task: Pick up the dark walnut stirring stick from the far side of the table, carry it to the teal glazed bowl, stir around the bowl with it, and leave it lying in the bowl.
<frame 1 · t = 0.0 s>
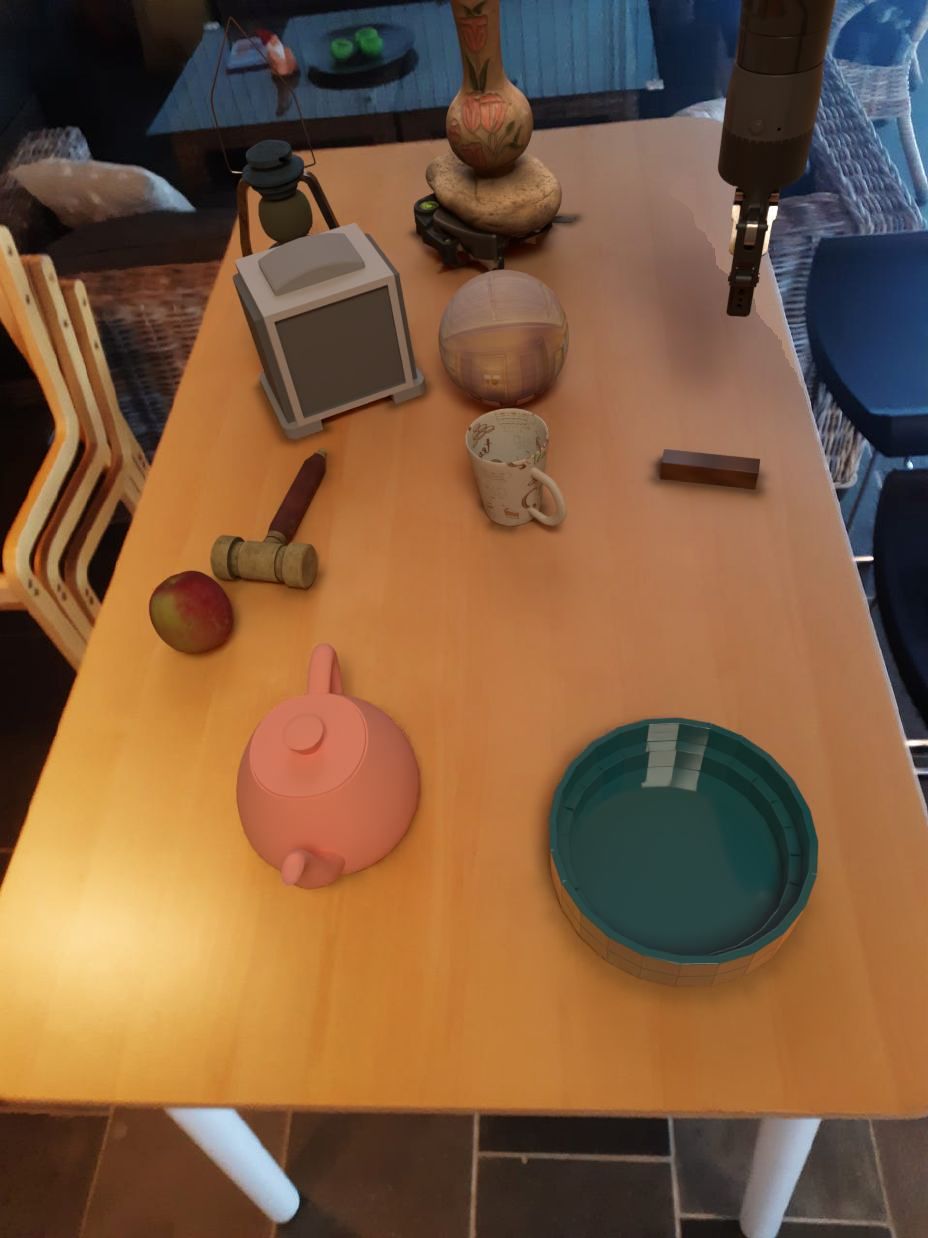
hand: (741, 289, 87), 16 cm above the table, tool pointing down, fingers open, 8 cm apart
apple: (205, 638, 89), on the table
alarm clock: (343, 388, 111), on the table
vase: (490, 241, 129), on the table
teapot: (337, 813, 75), on the table
mug: (526, 517, 94), on the table
gavel: (296, 521, 98), on the table
lantern: (308, 301, 125), on the table
ornament: (507, 393, 107), on the table
bowl: (673, 862, 69), on the table
stick: (707, 477, 95), on the table
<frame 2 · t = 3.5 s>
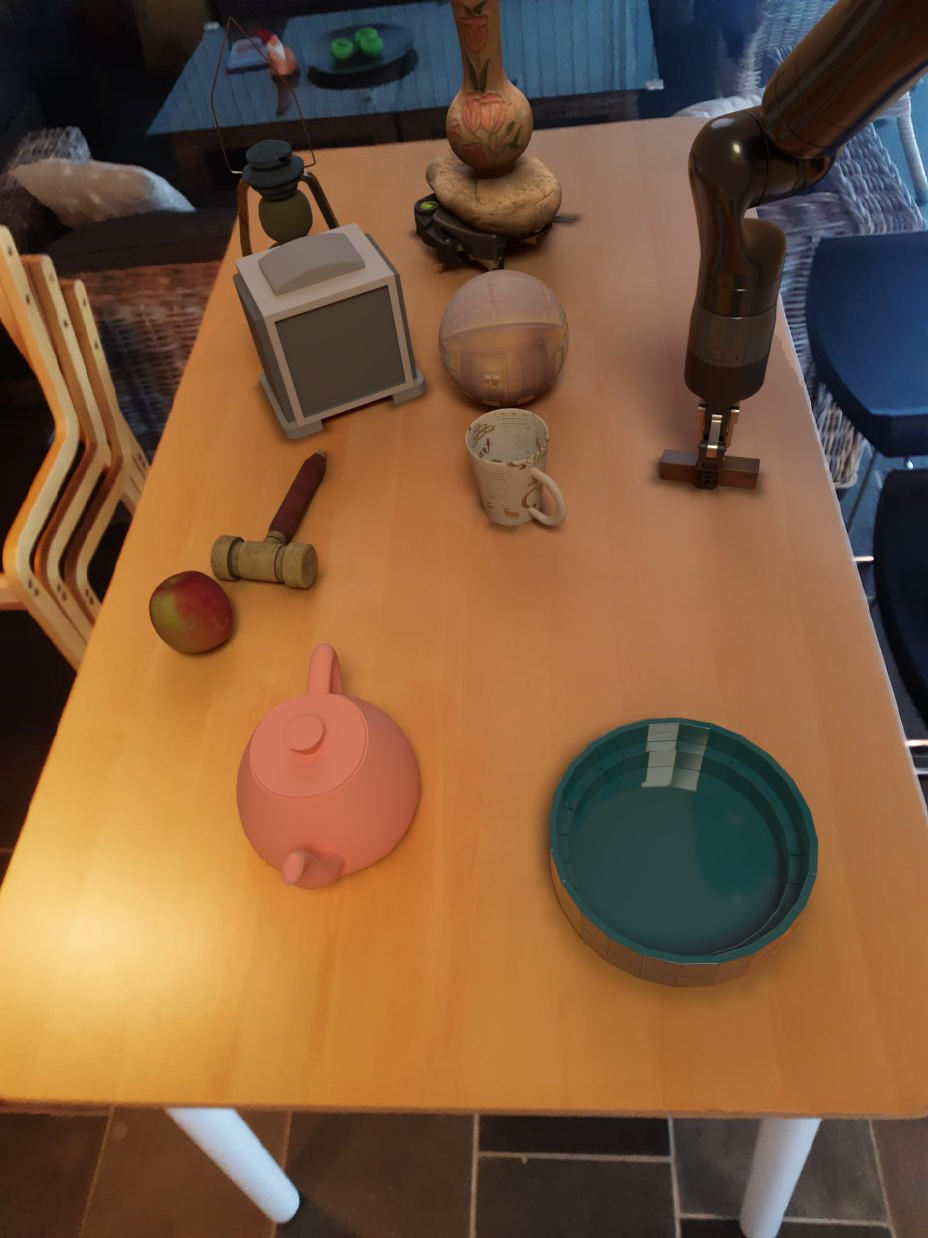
hand: (707, 476, 95), 0 cm above the table, tool pointing down, fingers closed on stick, 2 cm apart
stick: (707, 477, 95), on the table, touching gripper
everything else where it was.
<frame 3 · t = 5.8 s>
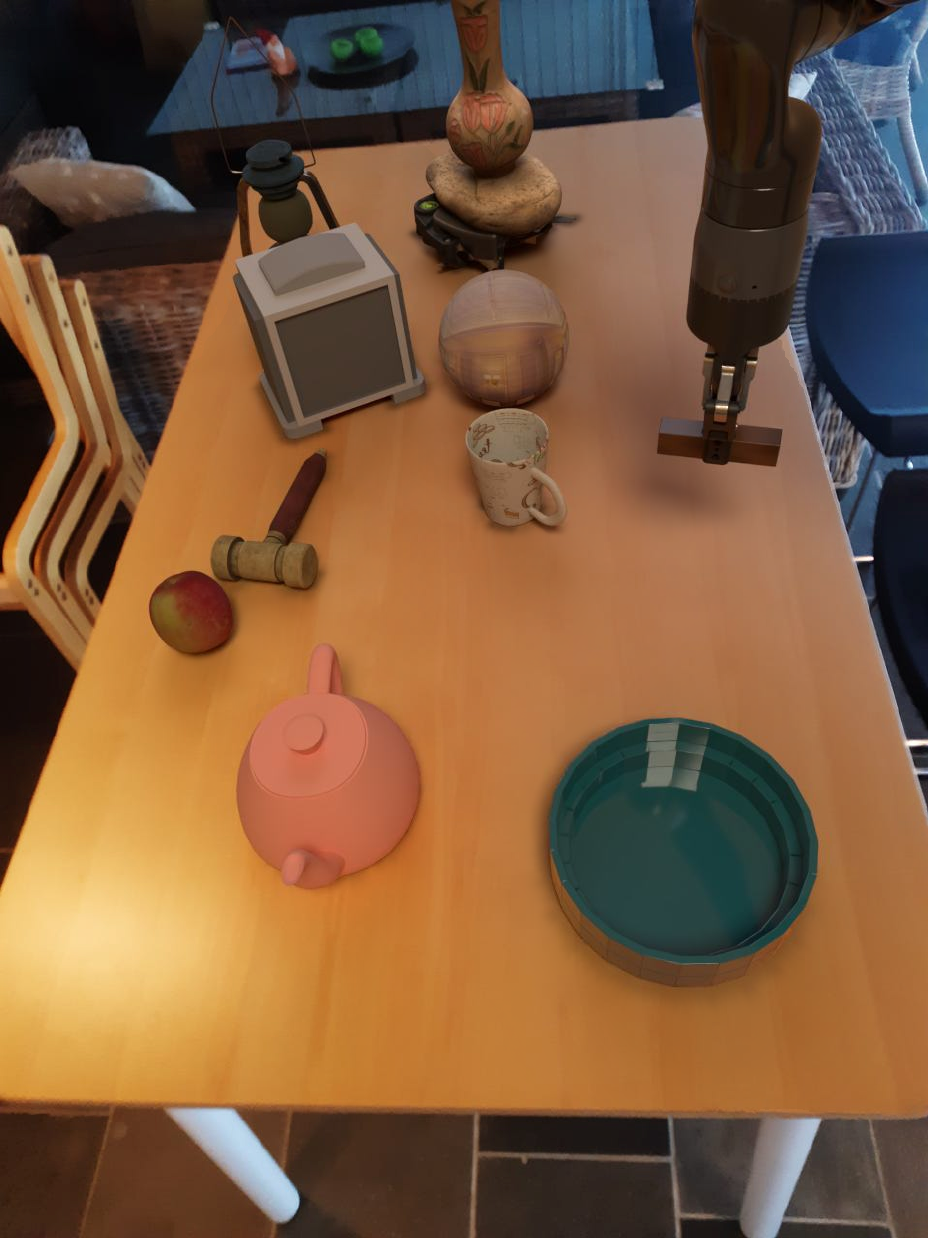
hand: (717, 449, 76), 15 cm above the table, tool pointing down, fingers closed on stick
stick: (716, 452, 76), point 14 cm above the table, touching gripper
everything else where it was.
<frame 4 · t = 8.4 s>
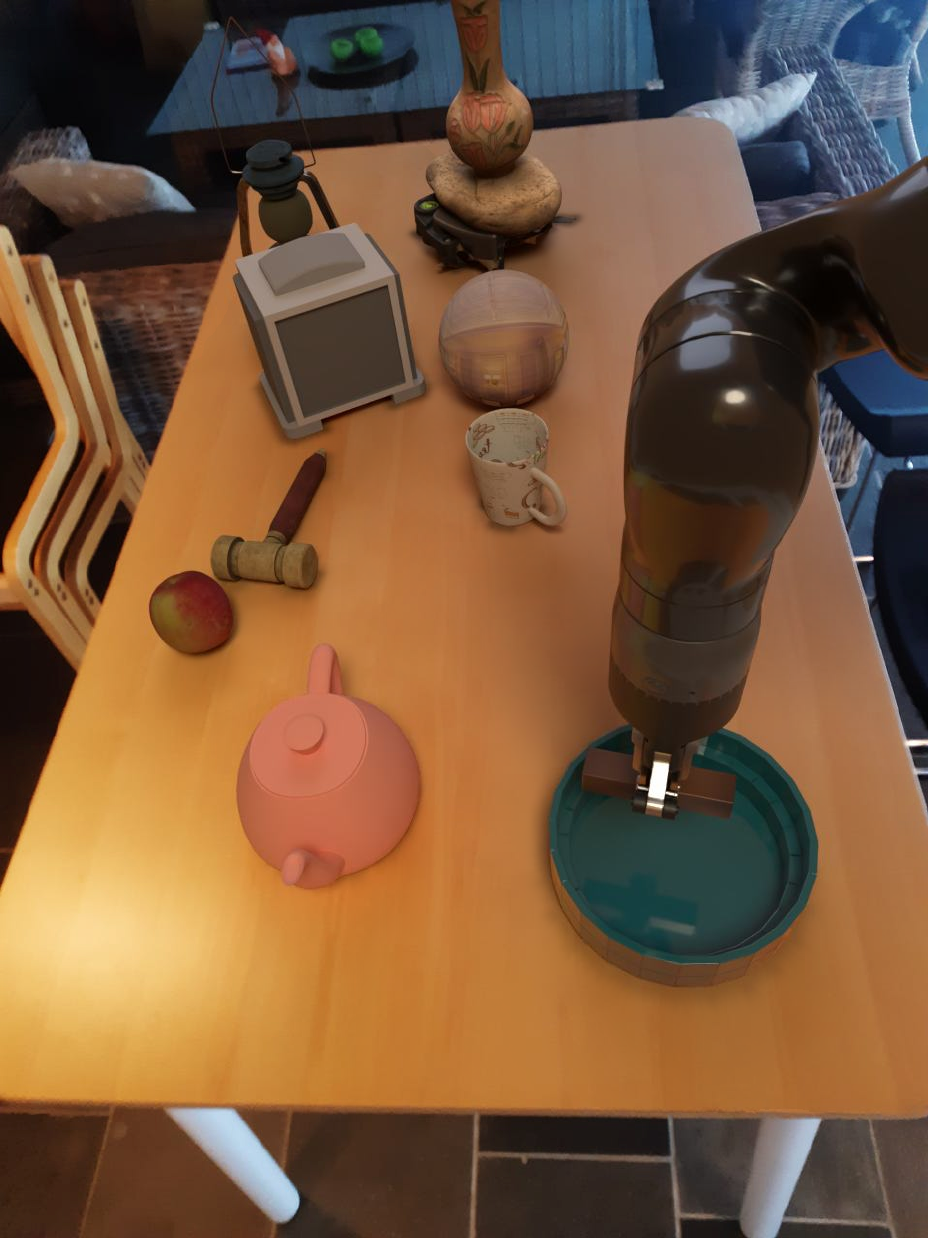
hand: (657, 788, 61), 12 cm above the table, tool pointing down, fingers closed on stick
stick: (656, 790, 61), point 11 cm above the table, touching gripper
everything else where it was.
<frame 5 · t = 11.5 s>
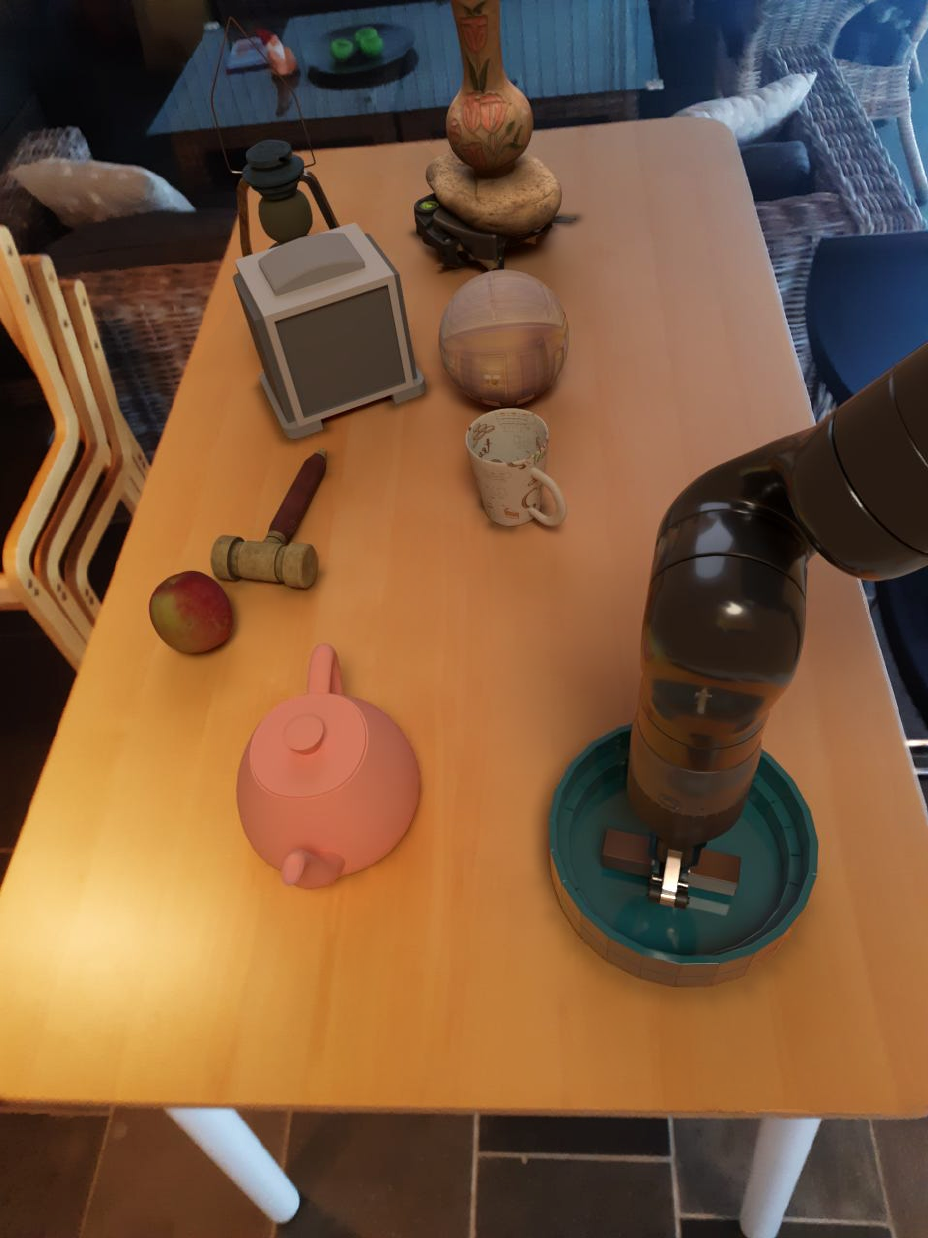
hand: (669, 866, 67), 2 cm above the table, tool pointing down, fingers closed on stick, 2 cm apart
stick: (668, 868, 68), point 1 cm above the table, touching gripper
everything else where it was.
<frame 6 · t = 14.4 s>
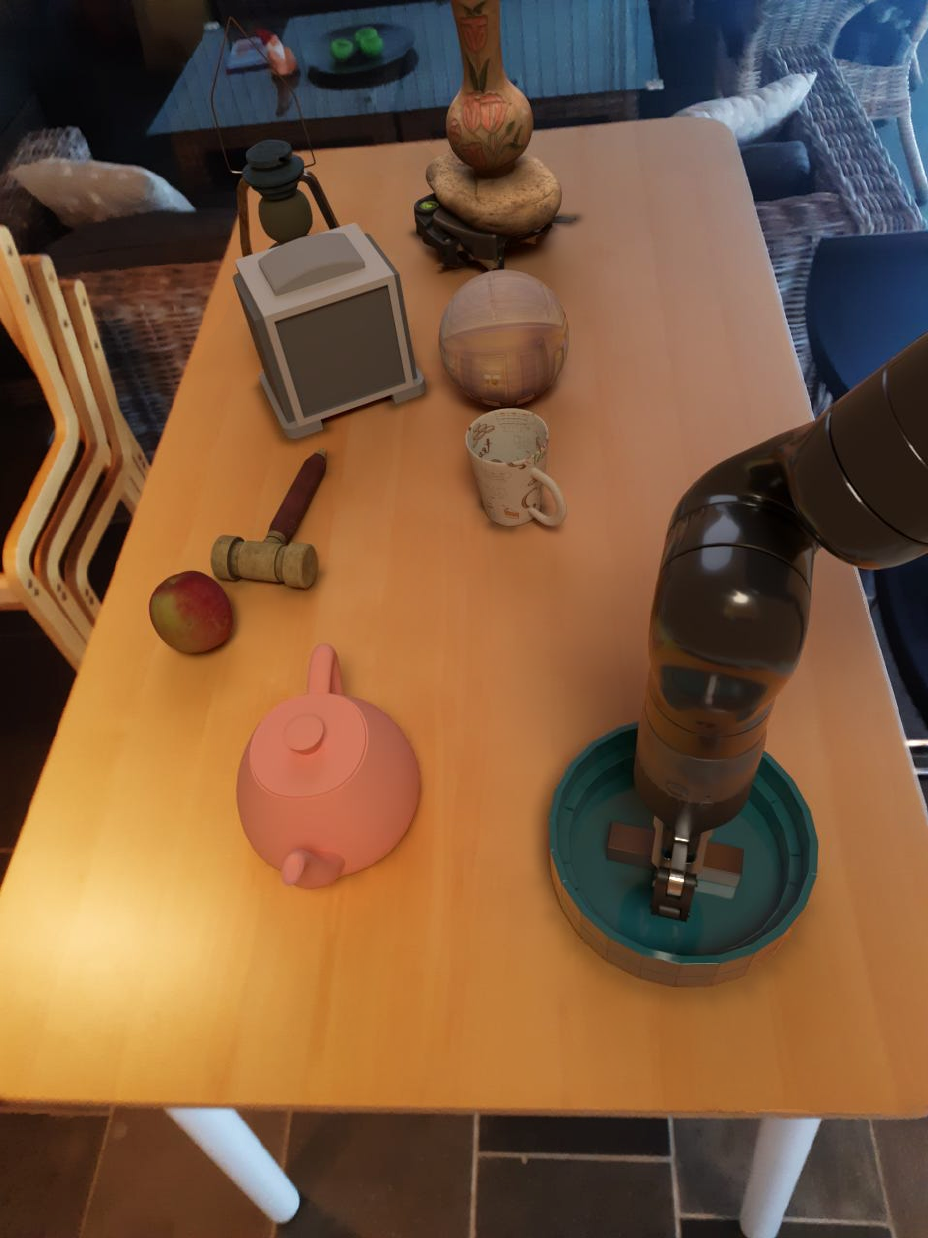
hand: (675, 850, 68), 2 cm above the table, tool pointing down, fingers open, 8 cm apart
stick: (672, 860, 69), point 1 cm above the table, touching bowl
everything else where it was.
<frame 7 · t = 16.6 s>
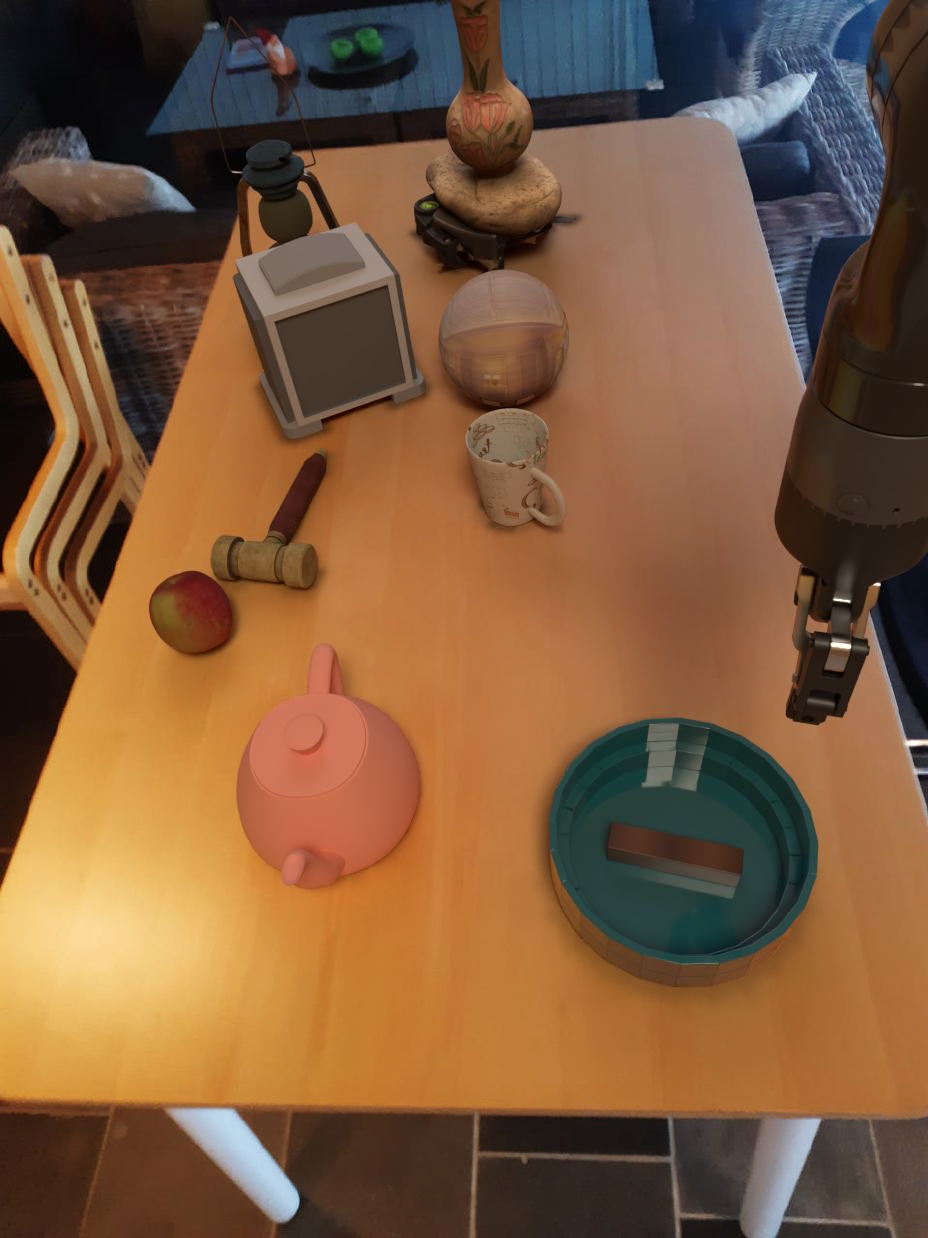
hand: (807, 657, 54), 22 cm above the table, tool pointing down, fingers open, 8 cm apart
nothing on the table moved.
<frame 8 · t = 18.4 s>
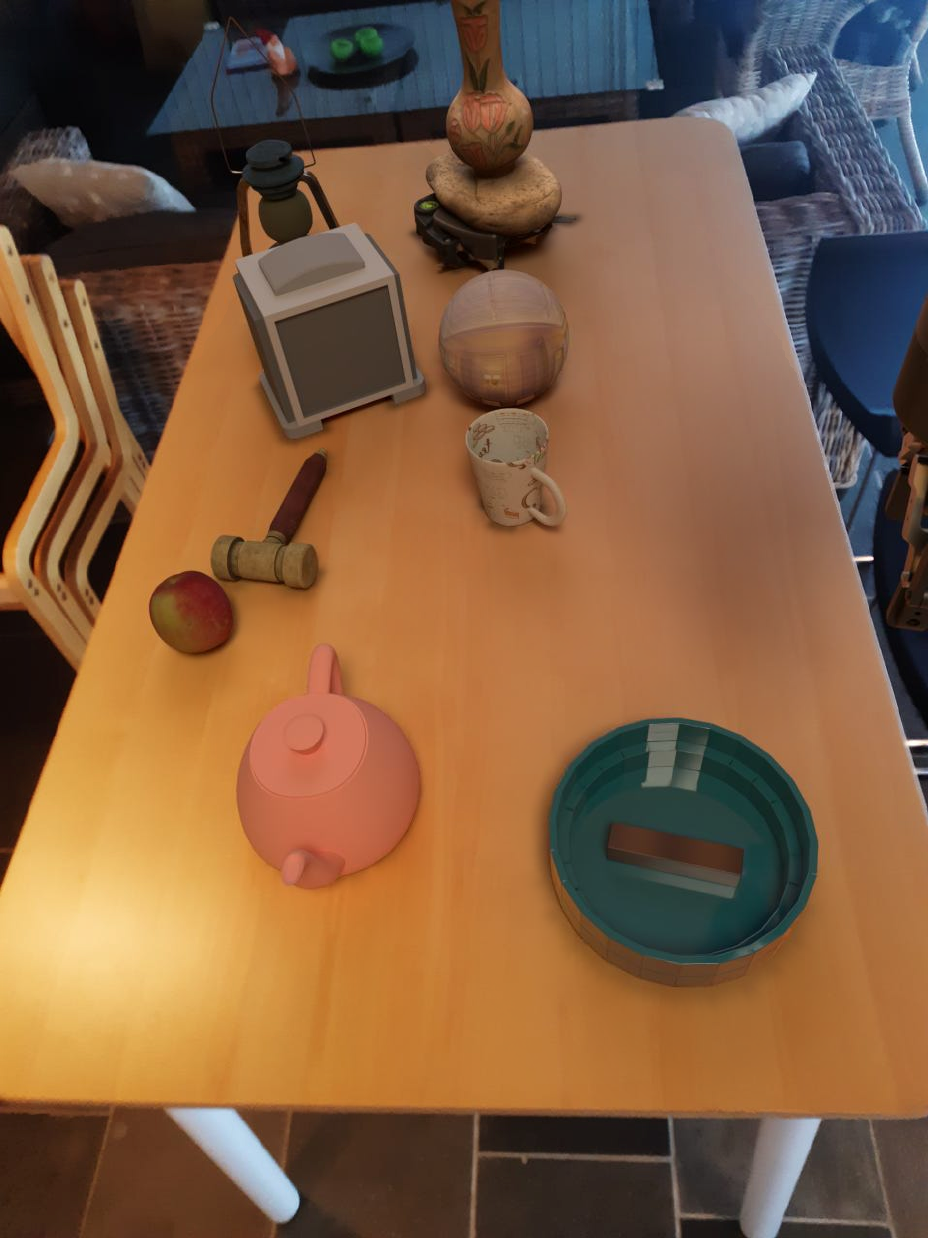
hand: (903, 567, 52), 26 cm above the table, tool pointing down, fingers open, 8 cm apart
nothing on the table moved.
at the end: stick inside the target area in the bowl (0.1 cm from its centre), point 0.6 cm above the bowl's base; the gripper is holding nothing; stick moved 44.2 cm from its start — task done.
